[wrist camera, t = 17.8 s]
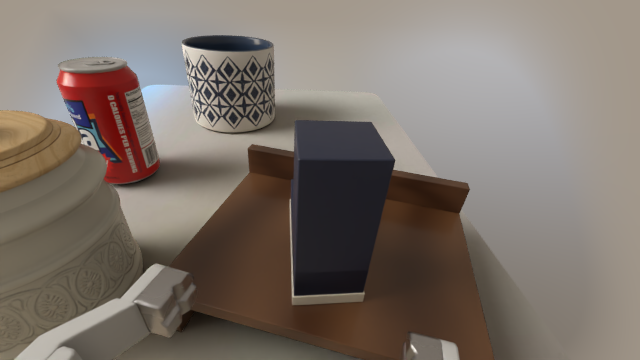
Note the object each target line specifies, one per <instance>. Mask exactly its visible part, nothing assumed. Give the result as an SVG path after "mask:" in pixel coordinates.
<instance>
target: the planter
mask: <svg viewBox="0 0 640 360" xmlns="http://www.w3.org/2000/svg"><path fill="white" fill-rule="evenodd" d="M182 48H183V55H184V60H185V65H186V72H187V77H188V83H189V89H190V94H191V100H192V105H193V111H194V116H195V120H196V122H197V123H198V124H200V125H201V126H203V127H205V128H207V129H210V130H214V131H219V132H228V133H237V132H248V131H253V130H257V129H260V128H262V127H264V126H266V125H268V124H270V123H271V122H272V121H273V120H274V118H275V87H274V46H273V44H272V43H271V42H269V41H266V40H263V39H258V38H252V37H244V36H226V35H213V36H198V37H191V38H187V39H185V40H183V41H182Z"/></svg>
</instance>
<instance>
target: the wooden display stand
mask: <svg viewBox="0 0 640 360" xmlns="http://www.w3.org/2000/svg"><path fill="white" fill-rule="evenodd" d="M248 158H249V172H250V173H249V174H248V175H247V176H246V177H245V178H244V179H243V181H242V182H241V183H240V184H239V185H238V186H237V188H236V189H235V190H234V191H233V192H232V193H231V195H230V196H229V197H228V198H227V199H226V200H225V202H224V203H223V204H222V205H221V206H220V207H219V209H218V210H217V211H216V212H215V213H214V214H213V216H212V217H211V218H210V219H209V220H208V221H207V222H206V224H205V225H204V226H203V227H202V228H201V229H200V231H199V232H198V233H197V234H196V235H195V236H194V238H193V239H192V240H191V241H190V242H189V243H188V245H187V246H186V247H185V248H184V249H183V250H182V252H181V253H180V254H179V255H178V256H177V257H176V259H175V260H174V261H173V262H172V263H171V264H170V265H169V267H171V268H174V269H178V270H182V271H186V272H189V273H193V276H194V280H193V283H194V284H195V285H196V287H197V297H196V300H195V302H194V304H193V306H192V307H191V309H190V310H189V311H188V312H186V313H184V314H183V315H182V322H181V324H180V325H179V327H178V328H177V330H176V331H179V332H182V330H183V329H184V327H185V326H186V324H187V323H188V321H189V320H190V318H191V317H192V315H193V314H194V312H195V311H197V312H201V313H204V314H208V315H211V316H215V317H218V318H221V319H225V320H228V321H232V322H235V323H239V324H242V325H246V326H249V327H253V328H256V329H260V330H263V331H266V332H270V333H273V334H277V335H280V336H284V337H287V338H291V339H294V340H298V341H301V342H305V343H308V344H312V345H315V346H318V347H322V348H325V349H329V350H332V351H336V352H339V353H343V354H346V355H350V356H353V357H357V358H360V359H364V360H399V356H400V351H401V347H402V344H403V343H405V342H406V335H407V333H408V332H409V331H411V332H415V333H419V334H423V335H427V336H431V337H435V338H439V339H442V340H445V341H449V342H453V343H455V344H456V345H457V347H458V352H459V359H460V360H495V359H494V355H493V351H492V347H491V343H490V338H489V334H488V330H487V326H486V322H485V318H484V314H483V310H482V306H481V301H480V297H479V293H478V289H477V285H476V281H475V277H474V273H473V269H472V265H471V260H470V256H469V252H468V248H467V244H466V240H465V236H464V232H463V228H462V223H461V219H460V215H459V213H460V211H461V209H462V206H463V204H464V202H465V199H466V197H467V195H468V192H469V190H470V189H469V186H468V184H467V183H463V182H458V181H452V180H446V179H441V178H436V177H430V176H425V175H419V174H414V173H408V172H403V171H397V170H393V172H392V176H391V180H390V184H389V188H388V192H387V196H386V200H385V204H384V208H383V213H382V217H381V221H380V225H379V229H378V233H377V237H376V241H375V245H374V249H373V254H372V258H371V262H370V266H369V271H368V275H367V279H366V283H365V287H364V293H365V295H364V299H363V302H348V303H329V304H310V305H292V282H291V245H290V208H289V204H290V199H291V179H294V152H292V151H286V150H281V149H275V148H270V147H264V146H259V145H253V144H252V145H251V146H250V147H249V148H248Z"/></svg>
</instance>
